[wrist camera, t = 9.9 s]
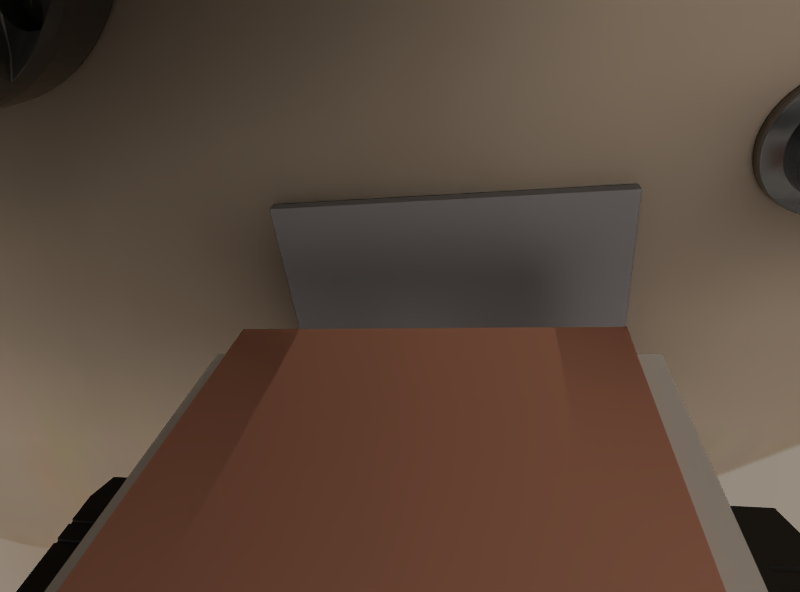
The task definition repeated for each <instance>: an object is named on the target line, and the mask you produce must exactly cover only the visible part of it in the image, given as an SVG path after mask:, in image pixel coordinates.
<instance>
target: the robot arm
mask: <svg viewBox="0 0 800 592" xmlns="http://www.w3.org/2000/svg"><path fill="white" fill-rule="evenodd" d="M111 3H112V0H0V108H2V107H6V106H9V105H13V104H17V103H20V102H24V101H27V100H30V99H33V98H35V97H38V96H40V95H42V94H44V93H46V92H48V91H50V90H51V89H53V88H54V87H56V86H57V85H59V84H60V83H61V82H63V81H64V80H65V79H66V78H68V77H69V76H70V75H71V74H72V73H73V72H74V71H75V70H76V69H77V68H78V67H79V66H80V64H81V63H82V62H83V60H84V59H85V58H86V57H87V55H88V54H89V52H90V51H91V49H92V47H93V46H94V44H95V42H96V40H97V38H98V36H99V34H100V33H101V31H102V28H103V26H104V23H105V21H106V18H107V16H108V13H109V9H110V6H111ZM225 355H226V354H217V356H216V357H215V359H214V360H213V361H212V363H211V364H210V365H209V367H208V368H207V370H206V371H205V372H204V374H203V375H202V376H201V378H200V379H199V381H198V382H197V383H196V385H195V386H194V387H193V389H192V390H191V391H190V393H189V394H188V396H187V397H186V398H185V400H184V401H183V402H182V404H181V405H180V407H179V408H178V409H177V411H176V412H175V413H174V415H173V416H172V417H171V419H170V420H169V422H168V423H167V424H166V426H165V427H164V428H163V430H162V431H161V433H160V434H159V435H158V437H157V438H156V439H155V441H154V442H153V444H152V445H151V446H150V448H149V449H148V450H147V452H146V453H145V454H144V456H143V457H142V459H141V460H140V461H139V463H138V464H137V465H136V467H135V468H134V470H133V471H132V472H131V474H130V475H129V476H128V478H123V477H113V478H112V479H111V480H110V481H108V482H107V483H106V484H105V485H104V486H102V487H101V488H100V489H99V490H97V491H96V492H95V493H94V494H93V495H91V496H90V497H89V499H88V500H87V501H86V502H85V504H84V505H83V506H82V508H81V509H80V510H79V512H78V513H77V514H76V515H75V517H74V518H73V519H72V520H73V522H72V524H68V526H67V527H66V528H65V530H64V531H63V532H62V533H61V535H60V536H59V537H58V542H57V543H54V544H53V545H52V546H51V548H50V549H49V550H48V551H47V553H46V554H45V555H44V557H43V558H42V560H41V561H40V562H39V563H38V564H37V566H36V567H35V568H34V570H33V571H32V572H31V574H30V575H29V576H28V577H27V579H26V580H25V581H24V583H23V584H22V585H21V586H20V588H19V589H18V590H17V592H57V590H58V589H59V588H60V586H61V585H62V583H63V582H64V581H65V579H66V578H67V576H68V575H69V574H70V572H71V571H72V569H73V568H74V567H75V565H76V564H77V562H78V561H79V560H80V558H81V557H82V555H83V554H84V553H85V551H86V550H87V548H88V547H89V546H90V544H91V543H92V541H93V540H94V539H95V537H96V536H97V534H98V533H99V531H100V530H101V529H102V527H103V526H104V524H105V523H106V522H107V520H108V519H109V517H110V516H111V515H112V513H113V512H114V510H115V509H116V508H117V506H118V505H119V503H120V502H121V501H122V499H123V498H124V496H125V495H126V494H127V492H128V491H129V489H130V488H131V487H132V485H133V484H134V482H135V481H136V480H137V478H138V477H139V475H140V474H141V473H142V471H143V470H144V468H145V467H146V465H147V464H148V463H149V461H150V460H151V458H152V457H153V456H154V454H155V453H156V451H157V450H158V449H159V447H160V446H161V444H162V443H163V442H164V440H165V439H166V437H167V436H168V435H169V433H170V432H171V430H172V429H173V428H174V426H175V425H176V423H177V422H178V421H179V419H180V418H181V416H182V415H183V414H184V412H185V411H186V409H187V408H188V407H189V405H190V404H191V402H192V401H193V399H194V398H195V397H196V395H197V394H198V392H199V391H200V390H201V388H202V387H203V385H204V384H205V383H206V381H207V380H208V378H209V377H210V376H211V374H212V373H213V371H214V370H215V369H216V367H217V366H218V364H219V363H220V362H221V360H222V359H223V357H224V356H225ZM637 356H638V359H639V361H640V364H641V367H642V369H643V372H644V375H645V377H646V380H647V382H648V385H649V388H650V390H651V393H652V396H653V398H654V401H655V404H656V406H657V409H658V412H659V414H660V417H661V420H662V422H663V425H664V428H665V430H666V433H667V436H668V438H669V441H670V444H671V446H672V449H673V452H674V454H675V457H676V460H677V462H678V465H679V468H680V470H681V473H682V476H683V478H684V481H685V484H686V486H687V489H688V492H689V494H690V497H691V499H692V502H693V505H694V507H695V510H696V513H697V515H698V518H699V521H700V523H701V526H702V529H703V531H704V534H705V537H706V539H707V542H708V545H709V547H710V550H711V553H712V555H713V558H714V561H715V563H716V566H717V569H718V571H719V574H720V577H721V579H722V582H723V585H724V587H725V590H726V592H800V533H799V532H798V531H797V530H796V529H795V528H794V527H793V526H792V525H791V524H790V523H789V522H788V521H787V520H786V519H785V518H784V517H783V516H782V515H781V514H780V513H779V512H778V511H777V510H776V509H775V508H761V507H741V506H730V505H729V503H728V500H727V498H726V496H725V494H724V492H723V489H722V487H721V485H720V482H719V480H718V478H717V476H716V473H715V471H714V469H713V467H712V464H711V462H710V460H709V458H708V455H707V453H706V451H705V449H704V446H703V444H702V442H701V440H700V437H699V435H698V433H697V431H696V428H695V426H694V424H693V422H692V419H691V417H690V415H689V413H688V410H687V408H686V406H685V404H684V402H683V399H682V397H681V395H680V393H679V390H678V388H677V386H676V384H675V381H674V379H673V377H672V375H671V372H670V370H669V368H668V366H667V363H666V361H665V359H664V357H663V354H637Z"/></svg>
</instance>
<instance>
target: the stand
mask: <svg viewBox="0 0 800 592" xmlns="http://www.w3.org/2000/svg"><path fill="white" fill-rule="evenodd" d="M753 169H754V174H755V177H756V180H757V182H758V183H759V185H760V187H761V188H762V189H763V191H764V192H765V193H766V194H767V195H768V196H769V197H771V198H772V199H773V200H774V201H775V202H777V203H778V204H779V205H781V206H782V207H784V208H786V209H787V210H790V211H792V212H795V213H798V214H800V86H799V87H797V88H796V89H795V90H793V91H792V92H791V93H790V94H788V95H787V96H786V97H785V98H784V99H783V100H782V101H781V102H780V103H779V104H778V105H777V106H776V107H775V108H774V110H773V111H772V112H771V114H770V115H769V116H768V118H767V119H766V121H765V122H764V124H763V126H762V128H761V130H760V132H759V134H758V137H757V139H756V143H755V146H754V152H753Z"/></svg>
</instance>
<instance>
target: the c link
mask: <svg viewBox="0 0 800 592" xmlns="http://www.w3.org/2000/svg"><path fill="white" fill-rule="evenodd" d="M57 592H726V590H725V587H724V585H723V582H722V579H721V577H720V574H719V571H718V569H717V566H716V563H715V561H714V558H713V555H712V553H711V550H710V547H709V545H708V542H707V539H706V537H705V534H704V531H703V529H702V526H701V523H700V521H699V518H698V515H697V513H696V510H695V507H694V505H693V502H692V499H691V497H690V494H689V492H688V489H687V486H686V484H685V481H684V478H683V476H682V473H681V470H680V468H679V465H678V462H677V460H676V457H675V454H674V452H673V449H672V446H671V444H670V441H669V438H668V436H667V433H666V430H665V428H664V425H663V422H662V420H661V417H660V414H659V412H658V409H657V406H656V404H655V401H654V398H653V396H652V393H651V390H650V388H649V385H648V382H647V380H646V377H645V375H644V372H643V369H642V367H641V364H640V361H639V359H638V356H637V353H636V351H635V348H634V345H633V343H632V340H631V337H630V335H629V332H628V329H627V327H516V328H374V329H243V331H242V332H241V333H240V335H239V336H238V338H237V339H236V341H235V342H234V343H233V345H232V346H231V348H230V349H229V350H228V352H227V353H226V355H225V356H224V357H223V359H222V360H221V362H220V363H219V364H218V366H217V367H216V369H215V370H214V371H213V373H212V374H211V376H210V377H209V378H208V380H207V381H206V383H205V384H204V385H203V387H202V388H201V390H200V391H199V392H198V394H197V395H196V397H195V398H194V399H193V401H192V402H191V404H190V405H189V407H188V408H187V409H186V411H185V412H184V414H183V415H182V416H181V418H180V419H179V421H178V422H177V423H176V425H175V426H174V428H173V429H172V430H171V432H170V433H169V435H168V436H167V437H166V439H165V440H164V442H163V443H162V444H161V446H160V447H159V449H158V450H157V451H156V453H155V454H154V456H153V457H152V458H151V460H150V461H149V463H148V464H147V465H146V467H145V468H144V470H143V471H142V473H141V474H140V475H139V477H138V478H137V480H136V481H135V482H134V484H133V485H132V487H131V488H130V489H129V491H128V492H127V494H126V495H125V496H124V498H123V499H122V501H121V502H120V503H119V505H118V506H117V508H116V509H115V510H114V512H113V513H112V515H111V516H110V517H109V519H108V520H107V522H106V523H105V524H104V526H103V527H102V529H101V530H100V531H99V533H98V534H97V536H96V537H95V539H94V540H93V541H92V543H91V544H90V546H89V547H88V548H87V550H86V551H85V553H84V554H83V555H82V557H81V558H80V560H79V561H78V562H77V564H76V565H75V567H74V568H73V569H72V571H71V572H70V574H69V575H68V576H67V578H66V579H65V581H64V582H63V583H62V585H61V586H60V588H59V589H58V590H57Z"/></svg>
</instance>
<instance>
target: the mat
mask: <svg viewBox="0 0 800 592" xmlns="http://www.w3.org/2000/svg"><path fill="white" fill-rule="evenodd" d="M641 193H642V188H641V187H640V185H639V184H627V185H609V186H591V187H574V188H556V189H538V190H520V191H502V192H485V193H467V194H449V195H431V196H414V197H396V198H378V199H360V200H343V201H325V202H307V203H289V204H274V205H273V206H272V207H271V208H270V209H269V210H270V214H271V218H272V222H273V226H274V230H275V234H276V237H277V241H278V245H279V249H280V253H281V257H282V261H283V265H284V269H285V273H286V277H287V281H288V285H289V289H290V293H291V296H292V300H293V304H294V308H295V312H296V316H297V320H298V324H299V328H300V329H374V328H516V327H625V322H626V314H627V306H628V298H629V290H630V282H631V274H632V266H633V258H634V250H635V242H636V234H637V226H638V217H639V209H640V201H641Z"/></svg>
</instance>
